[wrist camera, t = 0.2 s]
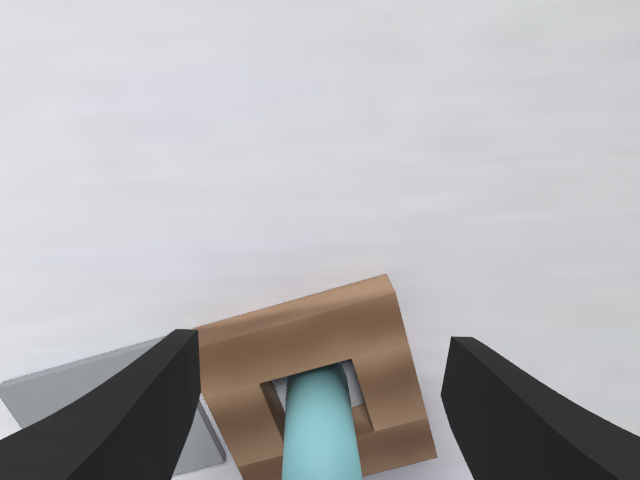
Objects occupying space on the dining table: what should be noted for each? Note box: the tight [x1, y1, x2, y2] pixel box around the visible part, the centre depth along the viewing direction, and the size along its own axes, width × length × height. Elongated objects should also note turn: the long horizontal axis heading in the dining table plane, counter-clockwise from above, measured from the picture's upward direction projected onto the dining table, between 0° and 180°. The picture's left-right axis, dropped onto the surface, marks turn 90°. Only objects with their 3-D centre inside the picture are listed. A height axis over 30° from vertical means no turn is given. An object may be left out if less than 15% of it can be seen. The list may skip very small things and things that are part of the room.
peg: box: [282, 362, 363, 480], centre depth 20 cm, size 4×4×8 cm
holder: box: [193, 274, 438, 480], centre depth 23 cm, size 11×11×2 cm
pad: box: [0, 336, 226, 476], centre depth 24 cm, size 9×10×1 cm
